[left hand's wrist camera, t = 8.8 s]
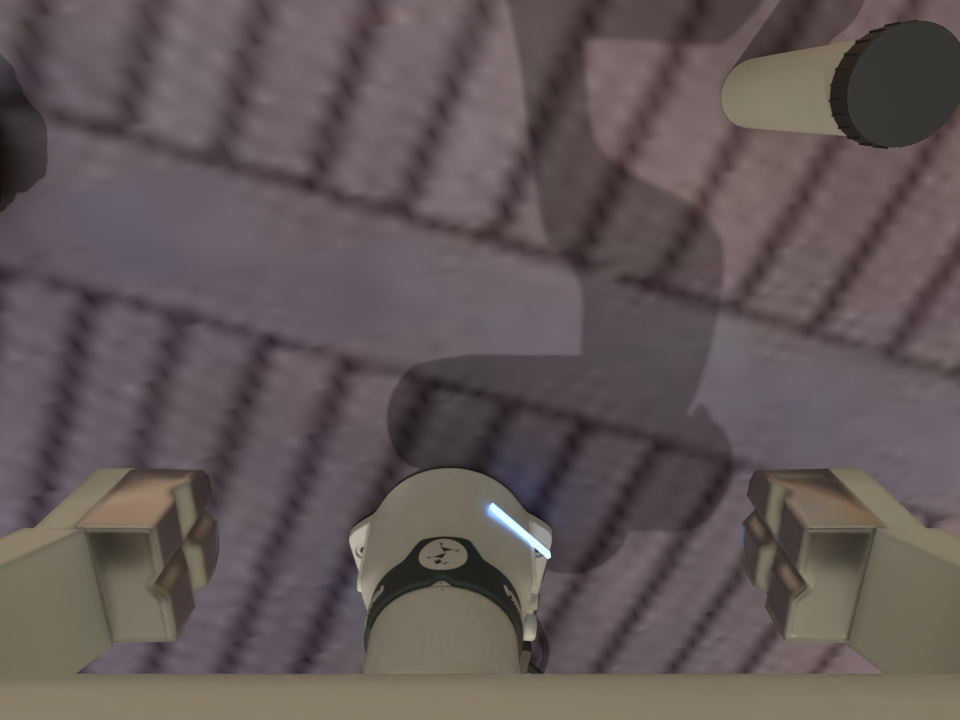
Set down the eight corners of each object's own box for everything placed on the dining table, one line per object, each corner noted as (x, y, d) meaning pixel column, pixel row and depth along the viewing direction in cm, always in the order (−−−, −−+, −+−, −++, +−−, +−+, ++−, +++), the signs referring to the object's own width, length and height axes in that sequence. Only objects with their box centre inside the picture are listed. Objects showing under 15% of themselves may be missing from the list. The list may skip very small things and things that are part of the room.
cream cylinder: (713, 72, 50) (842, 54, 32) (779, 47, 49) (946, 13, 32) (729, 137, 51) (859, 154, 34) (792, 113, 51) (959, 117, 33)
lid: (818, 50, 33) (835, 47, 32) (936, 4, 33) (960, -1, 31) (838, 163, 35) (856, 166, 33) (951, 122, 34) (975, 123, 33)
